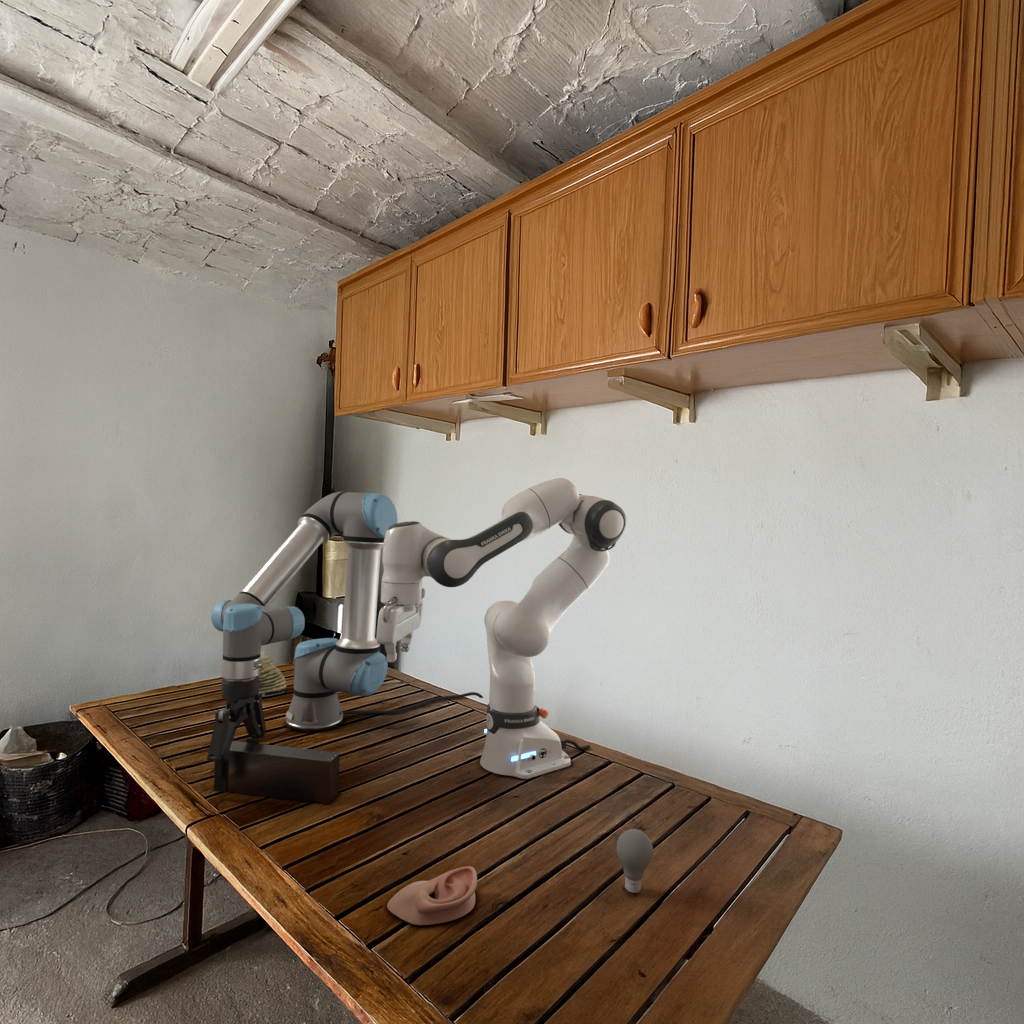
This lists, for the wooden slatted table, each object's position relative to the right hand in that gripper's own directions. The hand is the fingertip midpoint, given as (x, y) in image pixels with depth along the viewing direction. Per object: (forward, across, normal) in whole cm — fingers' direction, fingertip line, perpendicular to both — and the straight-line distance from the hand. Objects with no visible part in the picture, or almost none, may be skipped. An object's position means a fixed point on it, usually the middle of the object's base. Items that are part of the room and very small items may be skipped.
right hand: (398, 656), depth 141 cm
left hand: (+27, -10, +32) cm, 43 cm away
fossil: (+29, +48, +62) cm, 83 cm away
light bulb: (+29, -28, -52) cm, 65 cm away
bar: (+29, -10, +23) cm, 38 cm away
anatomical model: (+29, -39, -20) cm, 52 cm away
